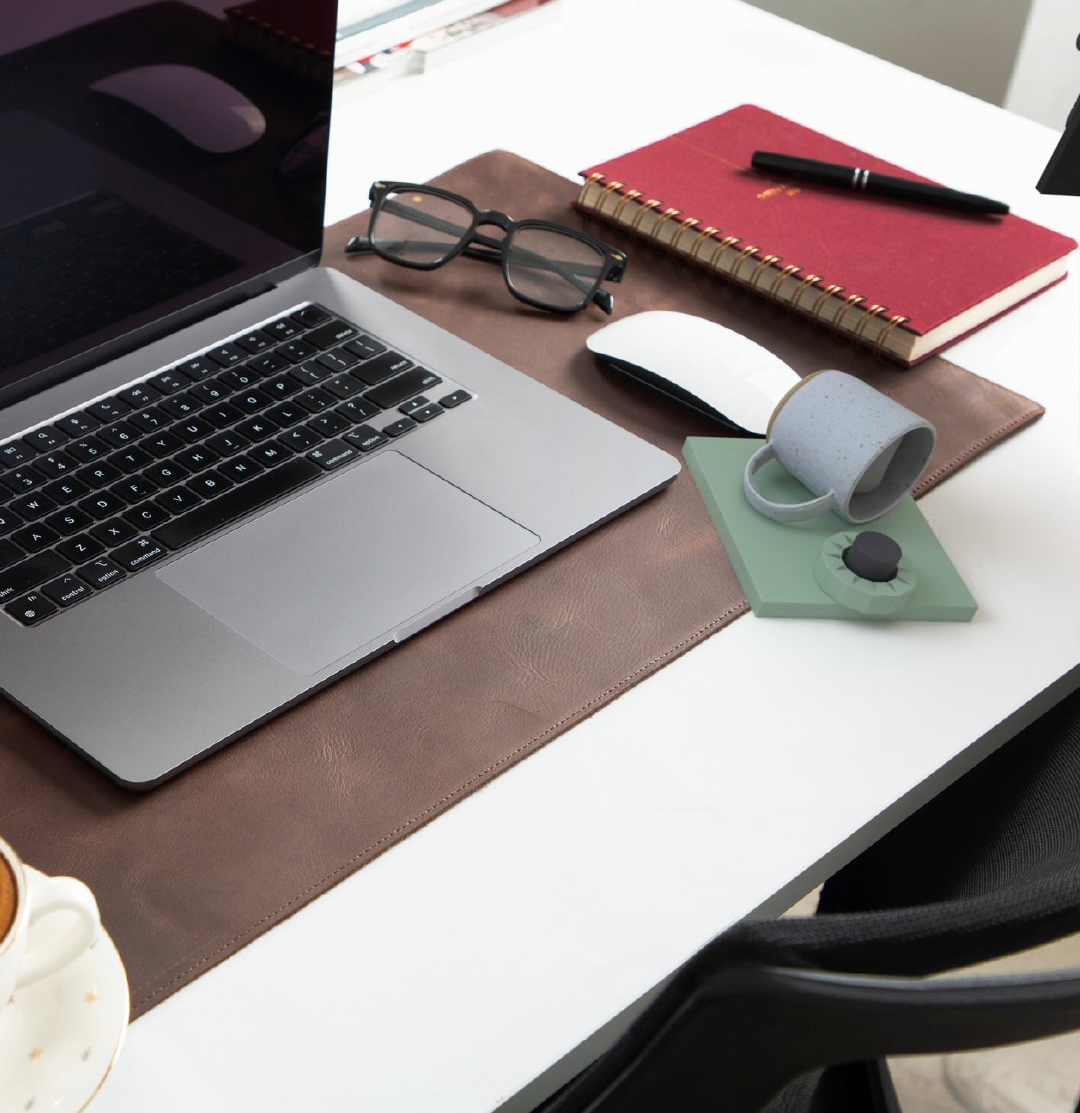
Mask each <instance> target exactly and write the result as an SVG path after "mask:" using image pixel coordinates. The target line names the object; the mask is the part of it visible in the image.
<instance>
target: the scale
mask: <svg viewBox="0 0 1080 1113" xmlns="http://www.w3.org/2000/svg"><path fill="white" fill-rule="evenodd" d="M764 445H766V438H764V439H763V438H741V437H739V438H738V437H716V436H715V437H710V436H687V437H686V438H685V441H684V443H683V446H682V448H681V454H682V456H683V458H684V461H685V464H686V466H687V468H688V470H689V472H690V475H691V476H692V479H693V481H694V484H695V486H696V488H697V491H698V492H699V494H700V497H701V499H702V501H703V503H704V506H705V508H706V510H707V512H708V515H709V517H710V519H711V521H712V524H713V526H714V528H715V531H716V533H717V535H718V537H719V540H720V542H721V544H722V546H723V548H724V552H725V553H726V555H727V557H728V560H729V563H730V564H731V566H732V569H733V571H734V573H735V575H736V578H737V580H738V582H739V585H740V587H741V588H742V591H743V593H744V595H745V598H746V601H747V602H748V605H749V607H750V609H751V611H752V613H753V616H754V617H755V618H767V619H808V620H809V619H813V620H815V619H816V620H852V621H853V620H854V621H855V620H857V621H858V620H859V621H898V622H900V621H901V622H903V621H904V622H944V623H945V622H946V623H947V622H949V623H950V622H951V623H970V622H971V621H972V619H973V617H974V616H975V614H976V613H977V611H978V610H979V604H978V603H977V601H976V600H975V597H974V596H973V595H972V593H971V591H970V589H969V588H968V586H967V585H966V584H965V582H964V580H963V578H962V577H961V575H960V572H958V570H957V569H956V566H955V565H954V564H953V562H952V560H951V558H950V557H949V555H948V554H947V552H946V550H945V549H944V547H943V545H942V544H941V542H940V541H939V540H940V539H938V537H937V536H936V534H935V532H934V530H933V529H932V527H931V526H930V524H929V521H927V519H926V517H925V516H924V514H923V512H922V511H921V509H920V508H919V506H918V504H917V502H916V501H915V499H914V498H913V496H912V494H911V492H910V491H909V492H908V493H907V494H906V495H905V496H904V497H903V498H902V499H901V500H900V501H899V502H898V503H897V504H895V505H894V506H893V507H892V508H891V509H890V510H889V511H887V512H886V513H884V514H883V515H881V516H879V517H877V518H876V519H873V520H871V521H869V522H865V523H861V524H859V523H858V524H853V523H850V522H848V521H846V520H845V519H843V518H842V517H841V516H840V515H838V514H837V513H836V512H835V511H834V510H830V511H828V512H826V513H824V514H822V515H819V516H817V517H814V518H811V519H809V520H805V521H801V522H782V521H777V520H773V519H770V518H768V517H766V516H764V515H762V514H761V513H760V512H759V511H757V510H756V509H755V508H754V507H753V506H752V505H751V503H750V502H749V501H748V499H747V496H746V493H745V490H744V472H745V468H746V465H747V463H748V461H749V460H750V458H751V457H752V455H753V454H754V453H756V452H757V451H758V449H760V448H762V447H763V446H764ZM753 478H754V483H755V485H756V486H757V487H758V488H759V492H760V495H761V496H762V497H763V499H765V500H767V501H769V502H773V503H777V504H787V505H792V504H801V503H805V502H809V501H812V500H815V499H817V498H818V497H817V496H816V495H815V494H814V493H813V492H811V491H810V490H809V489H808V488H807V487H806V486H805V485H804V484H803V483H802V482H801V481H799V480H798V479H797V478H795V477H794V476H793V475H792V474H791V473H789V472H788V471H787V470H786V469H784V468H783V467H782V466H781V465H780V464H779V463H778V462H777V460H776V459H775V458H772V459H770V460H769V461H767V462H766V463H764V464H763V465H762V466H761V467H760V468H759V469H758V471H757V472H756V473H755V474H754V476H753ZM865 531H874V532H879V533H882V534H884V535H887V536H888V537H890V538H892V539H893V540H894V541H896V542H897V543H898V545H899V546H900V548H901V550H902V557H901V559H900V560H899V562H898V564H897V566H896V568H895V569H894V571H893V573H892V575H891V577H890V578H889V579H888V580H887V581H885V582H871V581H868V580H865V579H863V578H860V577H858V576H857V575H856V574H854V573H853V572H852V571H850V570H849V569H848V568H847V567H846V565H845V557H846V555H847V553H848V551H849V549H850V548H851V546H852V544H853V542H854V540H855V538H856V536H857V535H858V534H860V533H862V532H865Z"/></svg>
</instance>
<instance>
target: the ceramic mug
mask: <svg viewBox="0 0 1080 1113" xmlns="http://www.w3.org/2000/svg"><path fill="white" fill-rule="evenodd" d="M765 439H766V445H764V446H763V447H762V448H760V449H758V451H757V452H756V453H754V454H753V455H752V457H751V458H750V460H749V461H748V463H747V465H746V468H745V472H744V490H745V493H746V496H747V499H748V501H749V502H750V503H751V505H752V506H753V507H754V508H755V509H756V510H757V511H759V512H760V513H761V514H762V515H764V516H766V517H768V518H770V519H773V520H777V521H782V522H801V521H805V520H809V519H811V518H814V517H817V516H819V515H822V514H824V513H826V512H828V511H830V510H834V511H835V512H836V513H837V514H838V515H840V516H841V517H842V518H843V519H845V520H846V521H848V522H850V523H853V524H858V523H859V524H861V523H865V522H869V521H871V520H873V519H876V518H877V517H879V516H881V515H883V514H884V513H886V512H887V511H889V510H890V509H891V508H892V507H893V506H894V505H895V504H897V503H898V502H899V501H900V500H901V499H902V498H903V497H904V496H905V495H906V494H907V493H908V492H909V493H910V492H911V491H912V490H913V488H914V486H915V485H916V484H917V482H918V481H919V480H920V479H921V477H922V476H923V474H924V472H925V471H926V469H927V467H928V465H929V464H930V462H931V460H932V458H933V454H934V452H935V449H936V446H937V441H938V434H937V430H936V427H935V426H934V424H933V423H931V421H929V420H927V419H926V418H924V417H922V416H921V415H919V414H917V413H916V412H913V411H912V410H910V409H908V408H907V407H905V406H903V405H902V404H900V403H899V402H897V401H895V400H894V399H892V398H890V397H888V396H887V395H886V394H883V393H882V392H880V391H878V390H877V389H876V388H874V387H873V386H871V385H869V384H868V383H866V382H864V381H863V380H861V379H860V378H858V377H855V375H851V374H849V373H846V372H843V371H840V370H837V369H822V370H818V371H816V372H813V373H811V374H809V375H807V376H804V378H802V379H801V380H799V382H797V383H795V384H794V385H793V386H792V387H791V388H790V389H789V390H787V392H786V393H785V394H784V395H783V397H781V399H780V401H779V402H778V403H777V405H776V406H775V408H774V409H773V411H772V414H771V415H770V417H769V420H768V423H767V427H766V431H765ZM772 458H775V459H776V460H777V462H778V463H779V464H780V465H781V466H782V467H783V468H784V469H786V470H787V471H788V472H789V473H791V474H792V475H793V476H794V477H795V478H797V479H798V480H799V481H801V482H802V483H803V484H804V485H805V486H806V487H807V488H808V489H809V490H810V491H811V492H813V493H814V494H815V495H816V496H817V497H818V498H817V499H815V500H812V501H809V502H805V503H801V504H792V505H787V504H777V503H773V502H769V501H767V500H765V499H763V497H762V496H761V495H760V492H759V488H758V487H757V486H756V485H755V483H754V478H753V476H754V474H755V473H756V472H757V471H758V469H759V468H760V467H761V466H762V465H763V464H764V463H766V462H767V461H769V460H770V459H772Z"/></svg>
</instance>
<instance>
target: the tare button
mask: <svg viewBox="0 0 1080 1113" xmlns="http://www.w3.org/2000/svg"><path fill="white" fill-rule="evenodd" d="M901 557H902V550H901V548H900V546H899V545H898V543H897V542H896V541H894V540H893V539H892V538H890V537H888V536H887V535H884V534H882V533H879V532H874V531H865V532H862V533H860V534H858V535H857V536H856V538H855V540H854V542H853V544H852V546H851V548H850V549H849V551H848V553H847V555H846V557H845V565H846V567H847V568H848V569H849V570H850V571H852V572H853V573H854V574H856V575H857V576H858V577H860V578H863V579H865V580H868V581H871V582H885V581H887V580H888V579H889V578H890V577H891V575H892V573H893V571H894V569H895V568H896V566H897V564H898V562H899V560H900V559H901Z"/></svg>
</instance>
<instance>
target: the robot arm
mask: <svg viewBox="0 0 1080 1113" xmlns="http://www.w3.org/2000/svg"><path fill="white" fill-rule="evenodd" d="M1075 48H1076V50H1077V51H1078V52H1080V32H1079V33H1078V34H1077V37H1076V40H1075ZM1064 127H1065V128H1064V130H1063V132H1062V135H1061V136H1060V138H1059V140H1058V142H1057V144H1056V146H1055V148H1054V149H1053V152H1052V154H1051V155H1050V157H1049V160H1048V162H1047V164H1046V165H1045V168H1044V169H1043V171H1042V173H1041V175H1040V177H1039V178H1038V181H1037V183H1036V185H1035V187H1034V189H1035V190H1036V191H1037V192H1038V193H1039V194H1040V195H1043V196H1044V195H1046V196H1047V195H1048V196H1062V197H1078V198H1080V93H1079V94H1078V96H1077V97H1076V101H1075V102H1074V104H1073V106H1072V108H1071V109H1070V111H1069V113H1068V115H1067V117H1066V121H1065V124H1064Z"/></svg>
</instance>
